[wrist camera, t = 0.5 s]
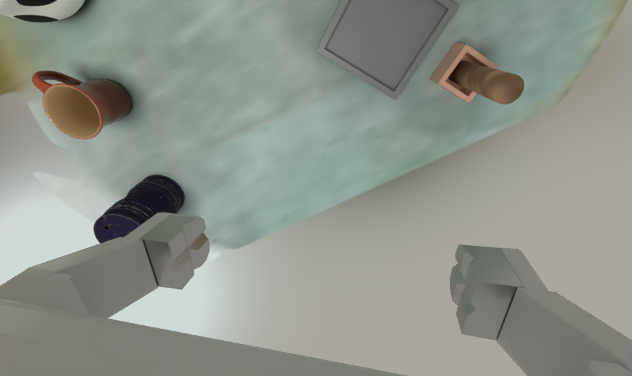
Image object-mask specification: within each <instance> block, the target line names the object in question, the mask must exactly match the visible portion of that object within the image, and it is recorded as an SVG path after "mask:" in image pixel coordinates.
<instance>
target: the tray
mask: <svg viewBox="0 0 632 376" xmlns="http://www.w3.org/2000/svg"><path fill="white" fill-rule="evenodd" d="M458 7H459V6H458V5H457V4H455V3H454V2H453V1H451V0H341V2H340V4H339V6H338V8H337V10H336V12H335V14H334V16H333V18H332V20H331V22H330V24H329V26H328V28H327V30H326V32H325V34H324V36H323V38H322V40H321V42H320V44H319V46H318V48H317V50H316V52H317V53H319V54H321V55H322V56H324V57H326V58H327V59H329V60H331V61H332V62H334V63H336V64H337V65H339V66H340V67H342V68H344V69H345V70H347V71H349V72H350V73H352V74H354V75H355V76H357V77H359V78H360V79H362V80H364V81H365V82H367V83H368V84H370V85H372V86H373V87H375V88H377V89H378V90H380V91H382V92H383V93H385V94H387V95H388V96H390V97H392V98H393V99H395V100H396V98H397V97H398V95H399V94H400V93H401V91H402V90H403V88H404V87H405V85H406V84H407V82H408V81H409V79H410V78H411V76H412V75H413V73H414V72H415V70H416V69H417V67H418V66H419V64H420V63H421V61H422V60H423V59H424V57H425V56H426V54H427V53H428V51H429V50H430V48H431V47H432V45H433V44H434V42H435V41H436V39H437V38H438V36H439V35H440V33H441V32H442V30H443V29H444V27H445V26H446V25H447V23H448V22H449V20H450V19H451V17H452V16H453V14H454V13H455V11H456V10H457V8H458Z"/></svg>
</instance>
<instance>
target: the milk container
mask: <svg viewBox="0 0 632 376" xmlns="http://www.w3.org/2000/svg"><path fill="white" fill-rule="evenodd" d="M84 1H85V0H0V14H3V15H6V16H9V17H12V18H16V19H19V20H23V21H29V22H53V21H57V20H61V19H64V18H67V17H69V16H71V15H73V14H74V13H76V12H77V11H78V10H79V9H80V7H81V6H82V5H83V3H84Z"/></svg>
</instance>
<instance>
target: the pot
mask: <svg viewBox="0 0 632 376" xmlns="http://www.w3.org/2000/svg"><path fill="white" fill-rule="evenodd" d="M460 60H463V61H467V62H471V63H474V64H478V65H482V66H486V67H489V68H493V69H497V68H498V66H497V65H496V64H495V63H493V62H492V61H490V60H489V59H487V58H486V57H485V56H483V55H482V54H480V53H479V52H477V51H476V50H475V49H473V48H472V47H470V46H469V45H467V44H464V43H457V42H455V43H454V45H453V46H452V48H451V49H450V50H449V52H448V53H447V55H446V56H445V57H444V59H443V60H442V62H441V63H440V65H439V66H438V67H437V69H436V70H435V72H434V73H433V74H432V76H431V77H430V79H431V80H432V81H434V82H435V83H437V84H438V85H440V86H441V87H443V88H444V89H446V90H448V91H449V92H451V93H452V94H454V95H455V96H457V97H458V98H460V99H462V100H464V101H466V102H467V103H469V102H470V101H471V100H472V99H473V97H474V96H475V95H476V94H477V93H476V92H473V91H471V90H469V89H467V88H465V87H463V86H460V85H458V84H456V83H454V82H452V81H450V80H449V79H448V77H449V75H450V74H451V73H452V71H453V70H454V69H455V67H456V66H457V65H458V63H459V62H460Z"/></svg>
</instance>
